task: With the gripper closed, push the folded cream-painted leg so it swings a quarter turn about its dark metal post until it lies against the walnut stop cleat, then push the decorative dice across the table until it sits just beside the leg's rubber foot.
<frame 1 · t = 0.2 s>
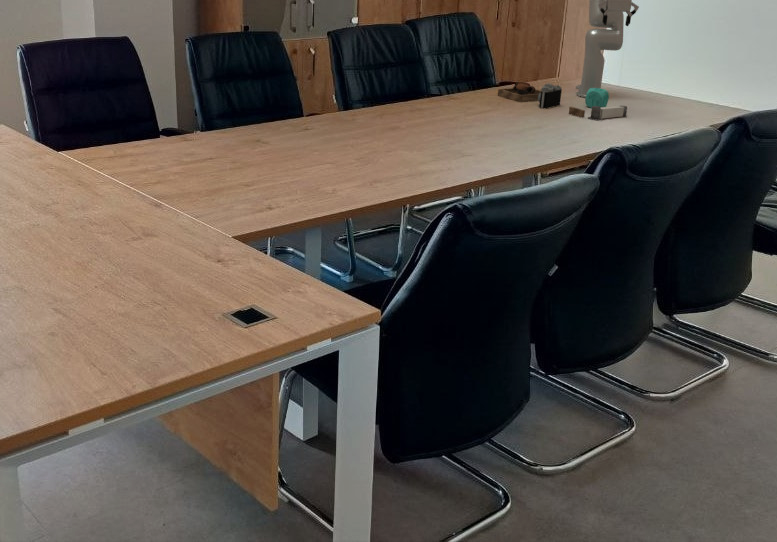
hand: (615, 25, 395), 37 cm above the table, tool pointing down, fingers open, 9 cm apart
leg: (612, 111, 394), point 2 cm above the table, hinge at 0.0°
mug tray: (523, 97, 425), on the table
decorative dice: (595, 107, 414), on the table
camera: (546, 106, 411), on the table
brown and grey piece: (594, 118, 389), on the table
pottery mug: (523, 98, 425), resting in mug tray
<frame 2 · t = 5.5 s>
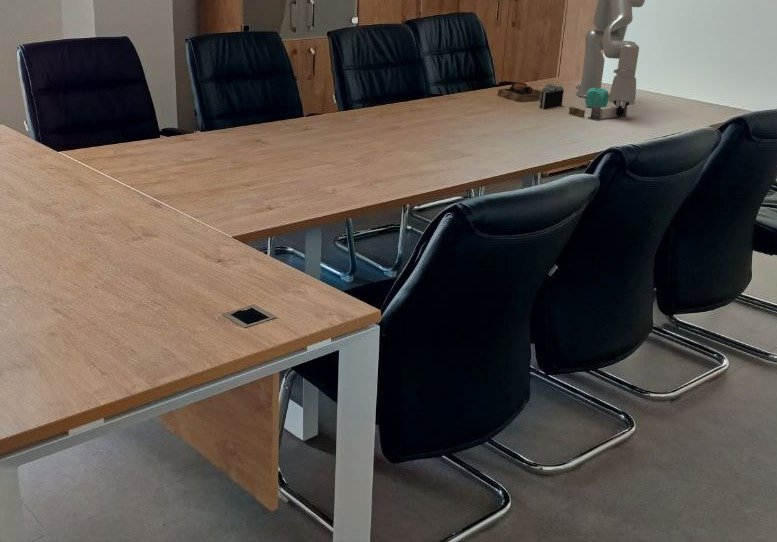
hand: (619, 116, 391), 1 cm above the table, tool pointing down, fingers closed
leg: (612, 111, 394), point 2 cm above the table, hinge at 0.1°, touching gripper
camera: (548, 106, 410), on the table
pottery mug: (520, 98, 424), resting in mug tray
everything else where it was.
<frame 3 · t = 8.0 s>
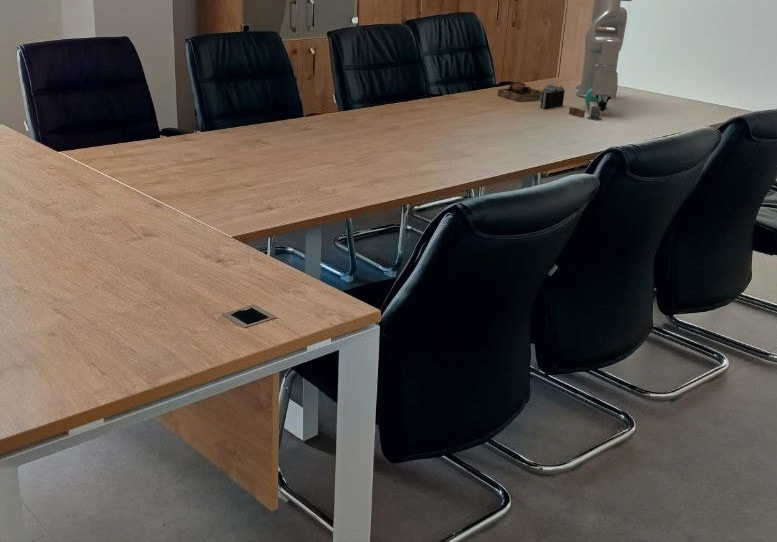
hand: (601, 110, 398), 2 cm above the table, tool pointing down, fingers closed
leg: (593, 108, 398), point 2 cm above the table, hinge at 49.3°, touching gripper
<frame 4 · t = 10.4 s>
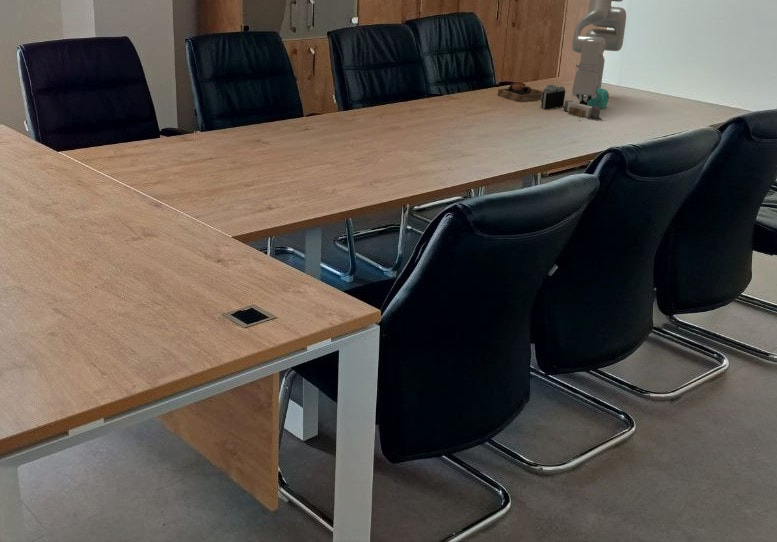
hand: (582, 110, 399), 1 cm above the table, tool pointing down, fingers closed
leg: (578, 108, 396), point 2 cm above the table, hinge at 89.0°, touching gripper
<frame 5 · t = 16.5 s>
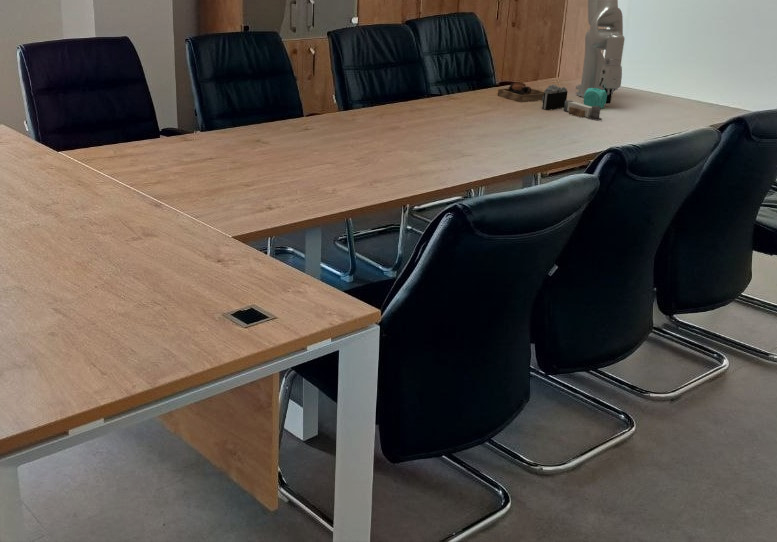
hand: (606, 103, 417), 1 cm above the table, tool pointing down, fingers closed
leg: (578, 108, 396), point 2 cm above the table, hinge at 89.0°
decorative dice: (593, 107, 413), on the table, touching gripper
camera: (551, 108, 407), on the table
everything else where it was.
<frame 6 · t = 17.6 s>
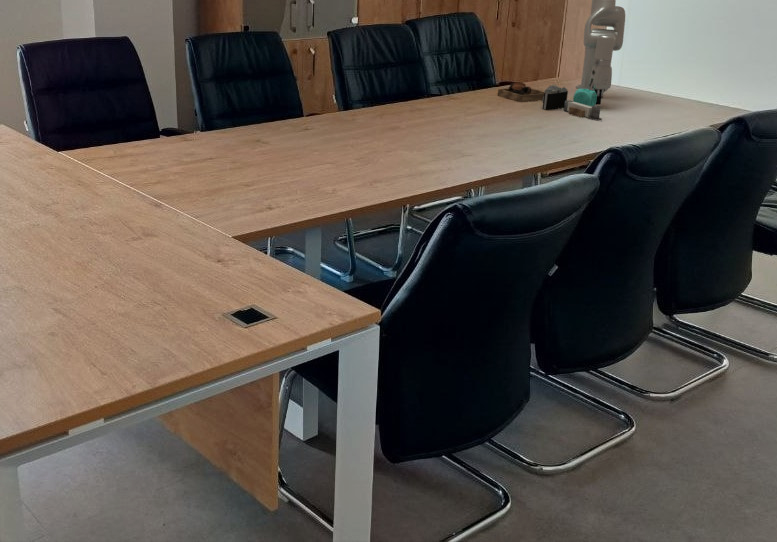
hand: (596, 104, 413), 1 cm above the table, tool pointing down, fingers closed
decorative dice: (583, 108, 410), on the table, touching gripper
everything else where it was.
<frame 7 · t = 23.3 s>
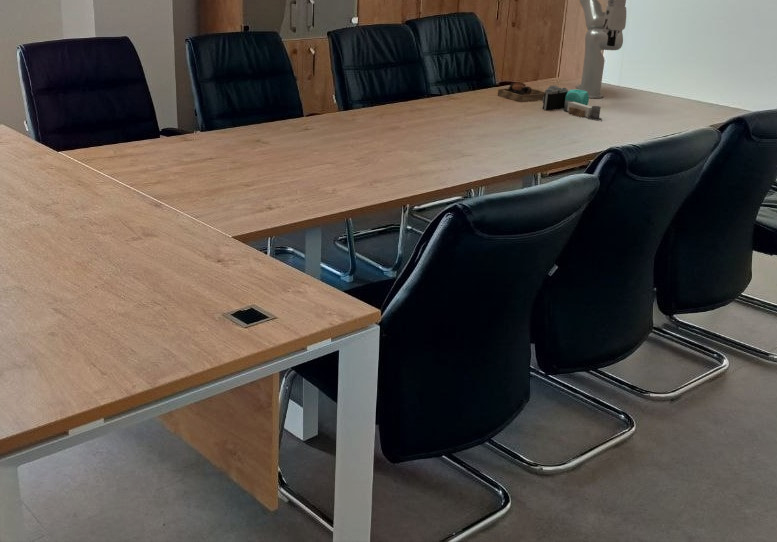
hand: (610, 45, 407), 27 cm above the table, tool pointing down, fingers closed
decorative dice: (575, 109, 407), on the table
at the end: leg at +89° (first picture: +0°); decorative dice inside the target area (0.6 cm from its centre), on the table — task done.
